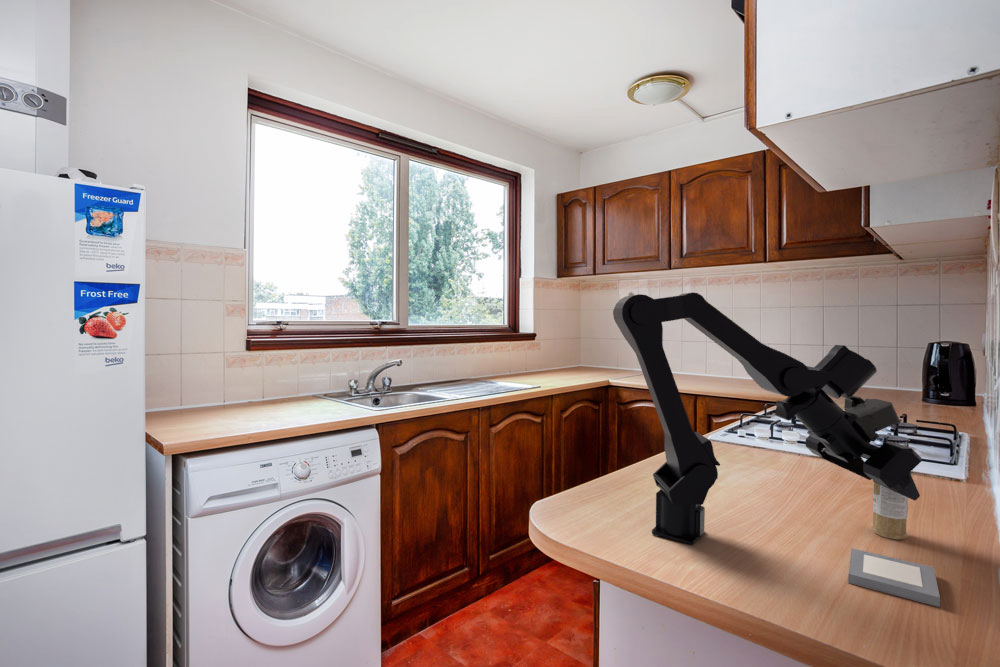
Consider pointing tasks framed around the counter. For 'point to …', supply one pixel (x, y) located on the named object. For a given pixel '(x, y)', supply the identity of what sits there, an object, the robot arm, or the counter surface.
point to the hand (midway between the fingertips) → (893, 487)
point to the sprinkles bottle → (889, 513)
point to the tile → (894, 576)
